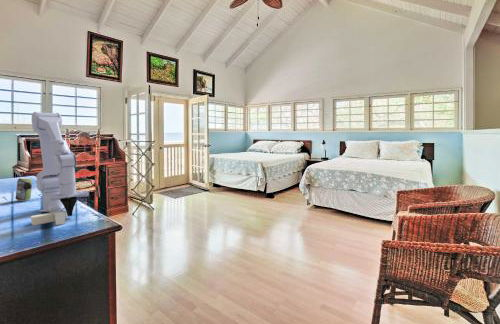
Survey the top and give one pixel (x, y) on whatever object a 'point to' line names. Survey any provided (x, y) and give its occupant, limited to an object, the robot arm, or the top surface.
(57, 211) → the housing
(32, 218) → the rod
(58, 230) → the top surface
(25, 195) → the beverage can
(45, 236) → the top surface
